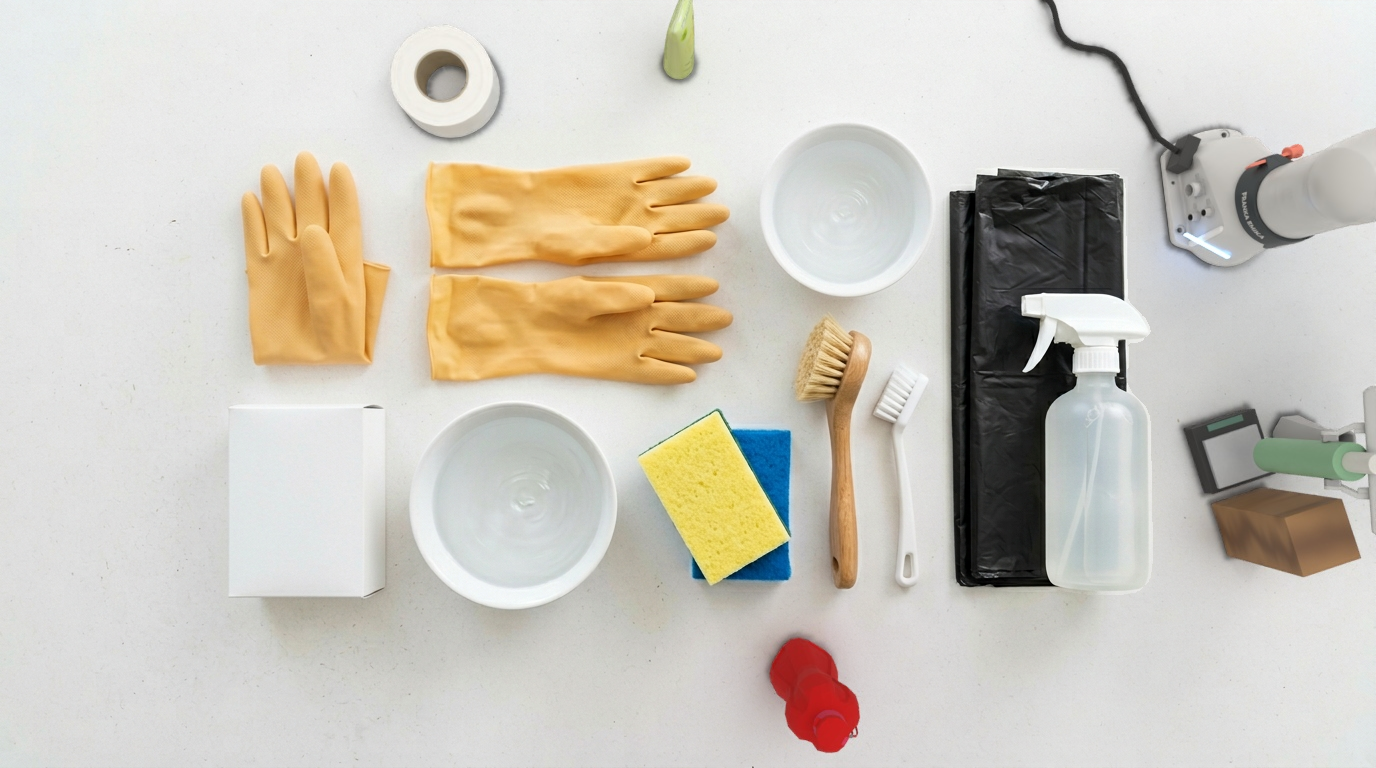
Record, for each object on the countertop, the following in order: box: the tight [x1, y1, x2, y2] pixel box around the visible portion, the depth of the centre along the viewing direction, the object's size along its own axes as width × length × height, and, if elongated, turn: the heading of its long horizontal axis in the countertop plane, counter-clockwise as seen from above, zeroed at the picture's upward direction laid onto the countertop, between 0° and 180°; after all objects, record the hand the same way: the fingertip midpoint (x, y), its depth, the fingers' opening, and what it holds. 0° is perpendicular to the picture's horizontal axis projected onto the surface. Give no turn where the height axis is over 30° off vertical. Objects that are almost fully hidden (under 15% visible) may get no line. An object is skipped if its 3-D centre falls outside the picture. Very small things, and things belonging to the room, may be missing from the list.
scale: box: [1183, 408, 1277, 495], centre depth 124 cm, size 11×11×3 cm
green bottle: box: [1253, 437, 1376, 482], centre depth 108 cm, size 5×5×18 cm
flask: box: [1272, 414, 1357, 443], centre depth 121 cm, size 7×7×10 cm
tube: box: [662, 0, 695, 80], centre depth 115 cm, size 6×5×20 cm
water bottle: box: [769, 637, 861, 754], centre depth 111 cm, size 9×11×25 cm
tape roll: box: [389, 24, 501, 139], centre depth 121 cm, size 16×16×6 cm
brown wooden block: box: [1210, 486, 1362, 578], centre depth 118 cm, size 9×9×15 cm
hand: (1322, 460), depth 106 cm, fingers closed on green bottle, 5 cm apart
